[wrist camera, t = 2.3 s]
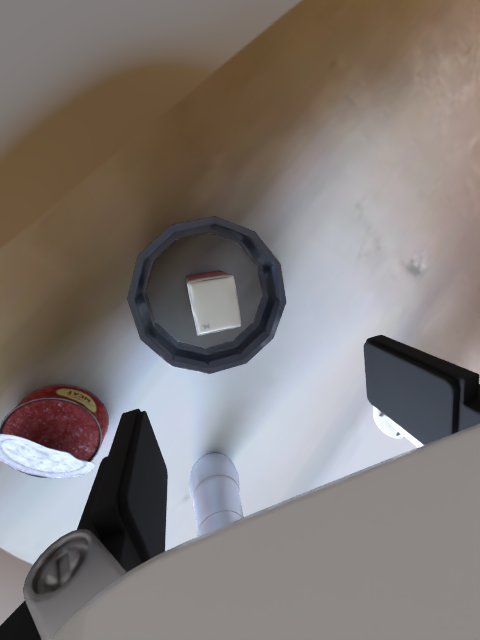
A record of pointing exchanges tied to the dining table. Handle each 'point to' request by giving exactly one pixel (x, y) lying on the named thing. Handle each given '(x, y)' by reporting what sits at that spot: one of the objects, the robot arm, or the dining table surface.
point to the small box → (213, 302)
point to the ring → (223, 353)
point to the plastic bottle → (215, 492)
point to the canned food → (54, 432)
